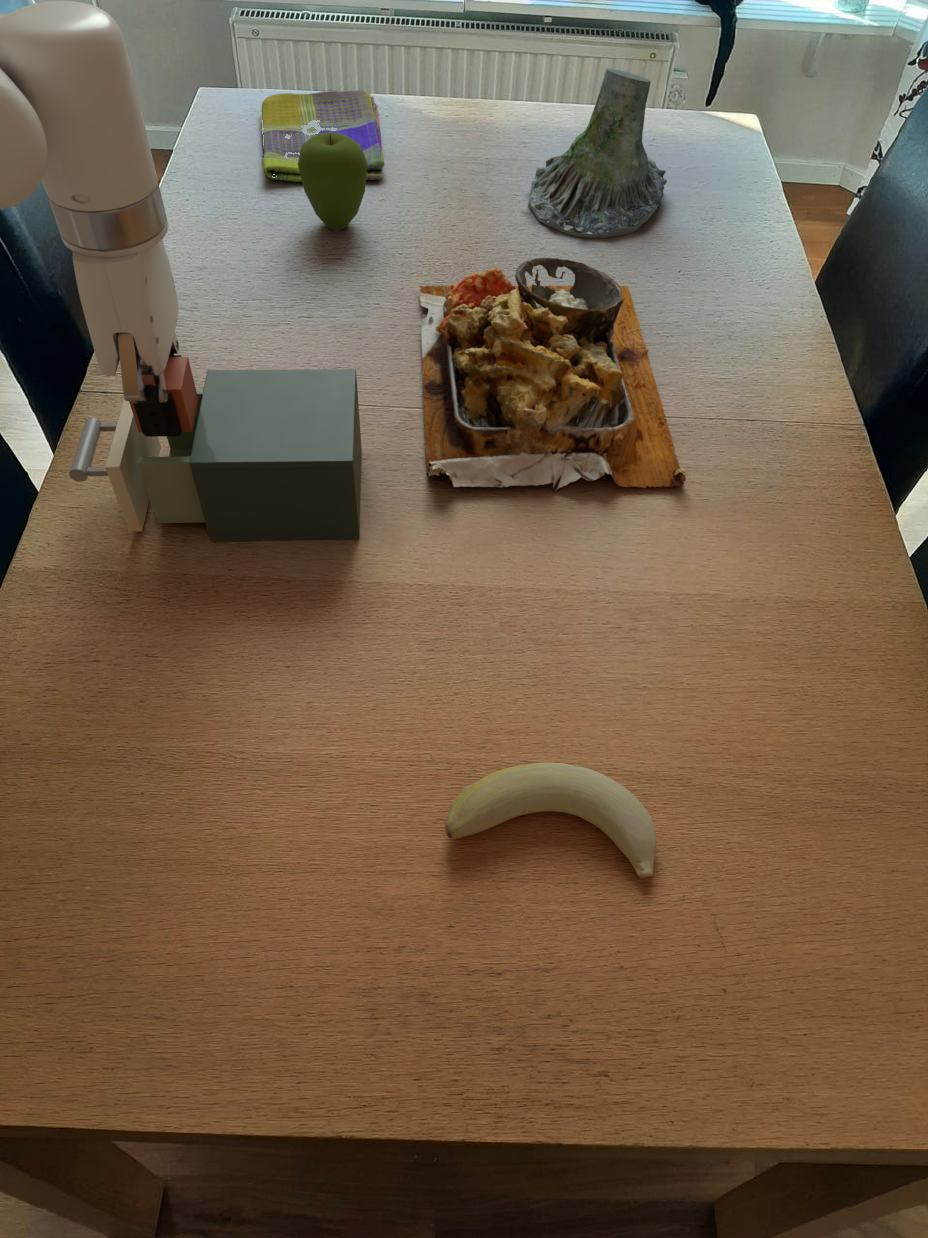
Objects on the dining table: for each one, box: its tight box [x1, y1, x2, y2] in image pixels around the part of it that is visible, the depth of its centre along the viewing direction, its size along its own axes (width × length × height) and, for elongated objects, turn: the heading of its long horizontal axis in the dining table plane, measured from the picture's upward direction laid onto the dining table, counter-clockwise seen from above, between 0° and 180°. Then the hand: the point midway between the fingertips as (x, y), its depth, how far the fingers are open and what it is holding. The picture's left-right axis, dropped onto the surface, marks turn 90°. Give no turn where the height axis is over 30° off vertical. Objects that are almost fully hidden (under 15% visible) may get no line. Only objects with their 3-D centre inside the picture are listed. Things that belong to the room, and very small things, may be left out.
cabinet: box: [189, 368, 363, 543], centre depth 83 cm, size 14×13×10 cm
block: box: [129, 356, 198, 433], centre depth 77 cm, size 4×4×4 cm
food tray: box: [419, 257, 688, 493], centre depth 95 cm, size 35×26×11 cm
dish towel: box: [260, 89, 385, 183], centre depth 131 cm, size 18×24×3 cm
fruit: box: [444, 762, 657, 879], centre depth 65 cm, size 7×15×3 cm, turn 80°
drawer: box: [68, 388, 205, 532], centre depth 82 cm, size 17×11×8 cm
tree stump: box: [527, 68, 668, 239], centre depth 120 cm, size 18×20×18 cm
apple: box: [298, 132, 368, 232], centre depth 113 cm, size 9×8×12 cm
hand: (167, 412), depth 79 cm, fingers closed on block, 4 cm apart
